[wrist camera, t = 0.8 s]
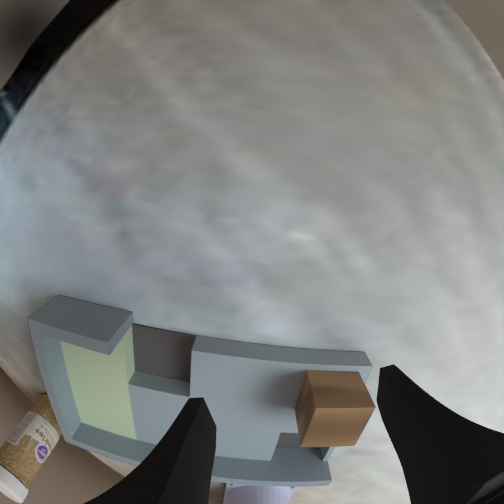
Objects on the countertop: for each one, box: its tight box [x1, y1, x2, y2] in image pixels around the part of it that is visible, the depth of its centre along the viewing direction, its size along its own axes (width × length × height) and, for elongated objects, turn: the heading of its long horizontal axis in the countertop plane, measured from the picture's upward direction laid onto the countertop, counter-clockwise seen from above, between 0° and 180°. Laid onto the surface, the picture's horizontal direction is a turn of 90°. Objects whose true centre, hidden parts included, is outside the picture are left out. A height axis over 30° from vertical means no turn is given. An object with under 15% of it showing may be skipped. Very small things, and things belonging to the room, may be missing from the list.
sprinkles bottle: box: [0, 394, 62, 503], centre depth 18 cm, size 5×5×13 cm
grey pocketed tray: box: [27, 295, 373, 487], centre depth 20 cm, size 14×25×4 cm, turn 82°
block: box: [295, 370, 375, 447], centre depth 18 cm, size 4×4×4 cm
